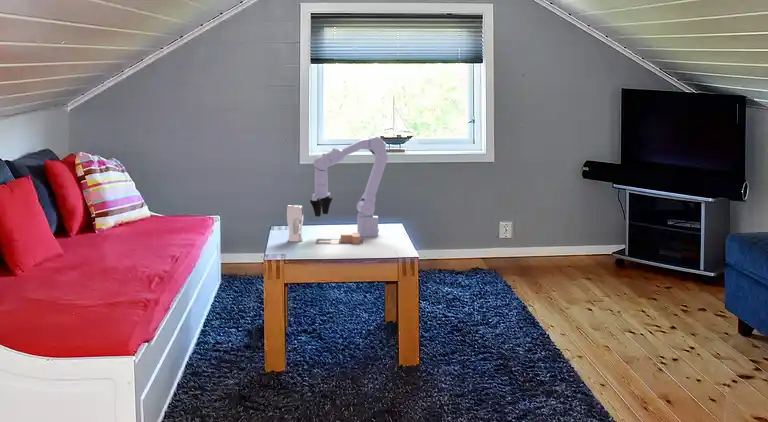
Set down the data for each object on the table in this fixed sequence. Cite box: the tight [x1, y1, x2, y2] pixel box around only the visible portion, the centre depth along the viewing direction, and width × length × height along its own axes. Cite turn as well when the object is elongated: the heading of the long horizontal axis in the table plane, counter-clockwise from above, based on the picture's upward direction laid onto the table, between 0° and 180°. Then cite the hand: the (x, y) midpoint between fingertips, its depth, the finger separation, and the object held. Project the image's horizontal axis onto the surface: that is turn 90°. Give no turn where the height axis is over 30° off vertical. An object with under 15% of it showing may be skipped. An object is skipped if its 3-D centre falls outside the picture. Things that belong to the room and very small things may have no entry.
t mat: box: [314, 238, 364, 245], centre depth 315 cm, size 20×12×1 cm, turn 92°
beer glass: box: [286, 204, 304, 243], centre depth 318 cm, size 7×7×15 cm
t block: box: [340, 232, 361, 245], centre depth 315 cm, size 8×9×3 cm
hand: (321, 215), depth 326 cm, fingers open, 7 cm apart
